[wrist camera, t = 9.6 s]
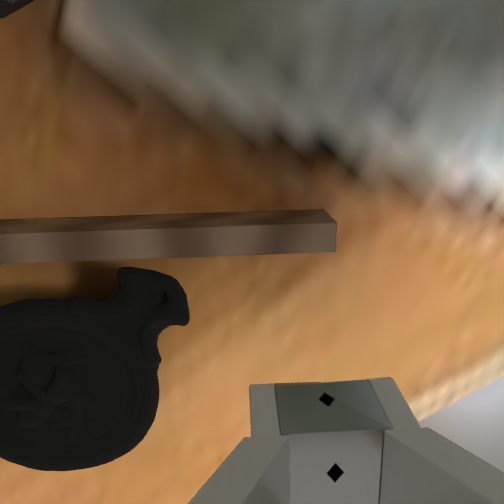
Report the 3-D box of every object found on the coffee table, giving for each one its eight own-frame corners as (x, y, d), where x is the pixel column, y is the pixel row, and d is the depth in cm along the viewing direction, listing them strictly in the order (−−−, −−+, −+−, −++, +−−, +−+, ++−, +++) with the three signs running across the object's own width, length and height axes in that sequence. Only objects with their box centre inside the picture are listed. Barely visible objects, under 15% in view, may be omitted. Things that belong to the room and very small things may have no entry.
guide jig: (323, 209, 34) (340, 226, 29) (318, 384, 39) (332, 423, 34) (-150, 224, 32) (-214, 245, 28) (-96, 405, 37) (-143, 450, 32)
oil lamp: (248, 331, 37) (252, 365, 32) (78, 468, 40) (59, 517, 35) (112, 193, 33) (94, 209, 28) (-65, 357, 36) (-109, 396, 31)
